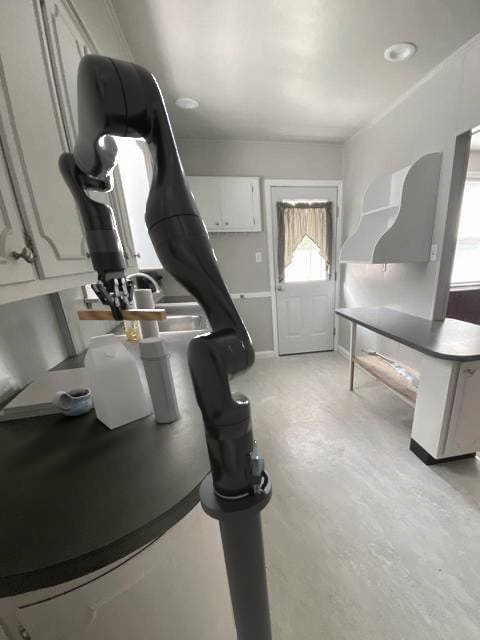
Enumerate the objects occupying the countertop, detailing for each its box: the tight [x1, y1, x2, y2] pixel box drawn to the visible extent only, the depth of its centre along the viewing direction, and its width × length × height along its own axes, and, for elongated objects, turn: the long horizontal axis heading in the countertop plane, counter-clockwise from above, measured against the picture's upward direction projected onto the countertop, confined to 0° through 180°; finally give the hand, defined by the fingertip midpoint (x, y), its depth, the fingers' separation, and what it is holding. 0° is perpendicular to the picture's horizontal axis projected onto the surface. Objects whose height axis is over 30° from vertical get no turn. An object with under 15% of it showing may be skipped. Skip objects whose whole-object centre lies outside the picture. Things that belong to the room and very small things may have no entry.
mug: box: [51, 387, 94, 417], centre depth 96 cm, size 10×12×10 cm
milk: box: [83, 333, 152, 430], centre depth 91 cm, size 12×12×26 cm
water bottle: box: [138, 336, 181, 424], centre depth 88 cm, size 9×8×25 cm
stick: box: [76, 308, 168, 322], centre depth 83 cm, size 26×2×3 cm, turn 78°
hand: (122, 319), depth 83 cm, fingers closed on stick, 2 cm apart
